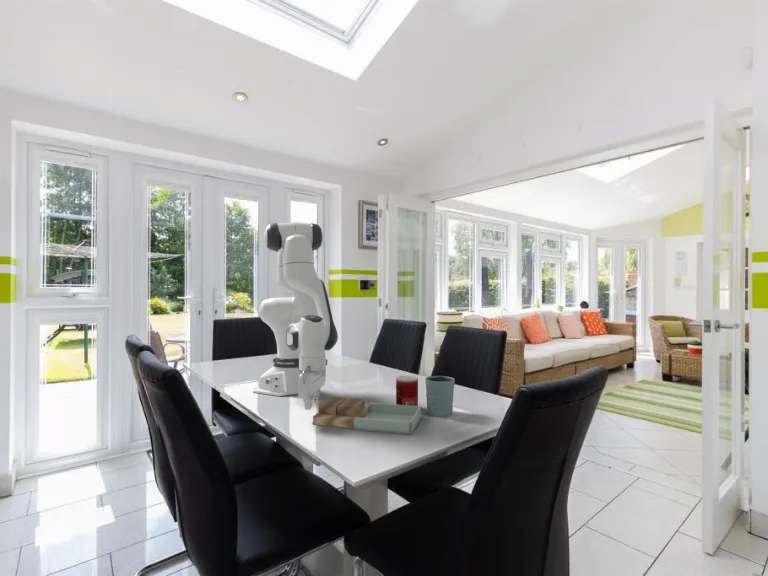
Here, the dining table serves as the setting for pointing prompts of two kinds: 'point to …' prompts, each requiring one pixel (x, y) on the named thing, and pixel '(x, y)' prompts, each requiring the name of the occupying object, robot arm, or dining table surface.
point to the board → (338, 419)
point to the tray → (390, 418)
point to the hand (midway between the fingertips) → (312, 405)
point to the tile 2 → (351, 407)
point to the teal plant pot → (439, 395)
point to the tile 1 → (330, 405)
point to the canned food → (407, 390)
